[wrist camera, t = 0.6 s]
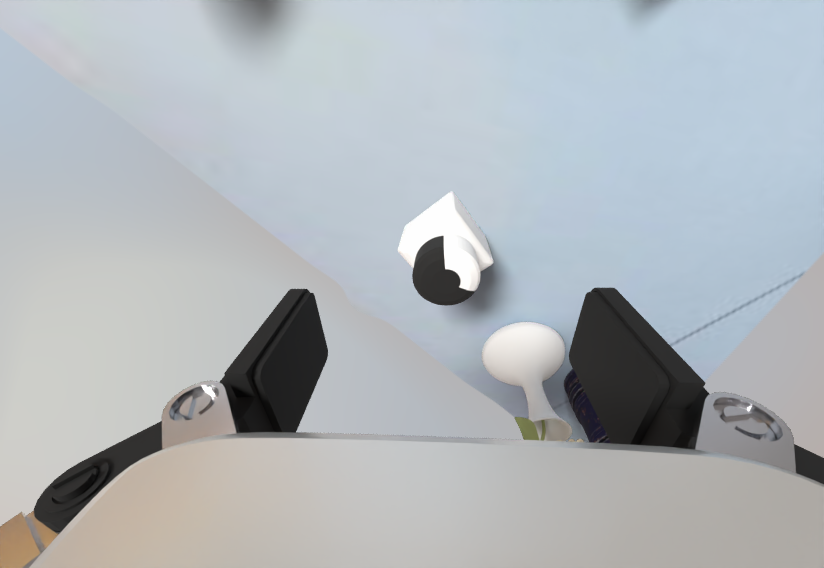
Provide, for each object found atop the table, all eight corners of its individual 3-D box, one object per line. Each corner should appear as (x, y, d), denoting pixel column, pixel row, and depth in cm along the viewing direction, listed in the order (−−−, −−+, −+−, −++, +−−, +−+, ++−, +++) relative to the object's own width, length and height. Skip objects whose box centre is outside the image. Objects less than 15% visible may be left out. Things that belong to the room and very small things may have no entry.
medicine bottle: (438, 268, 40) (437, 326, 29) (403, 226, 37) (388, 274, 27) (486, 237, 37) (503, 289, 27) (452, 189, 35) (456, 227, 24)
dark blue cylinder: (609, 408, 50) (666, 513, 37) (552, 394, 50) (590, 496, 37) (647, 366, 45) (728, 471, 32) (584, 350, 45) (641, 451, 32)
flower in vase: (572, 357, 45) (689, 586, 24) (501, 383, 49) (546, 599, 28) (537, 293, 40) (645, 510, 19) (460, 327, 44) (478, 539, 23)
